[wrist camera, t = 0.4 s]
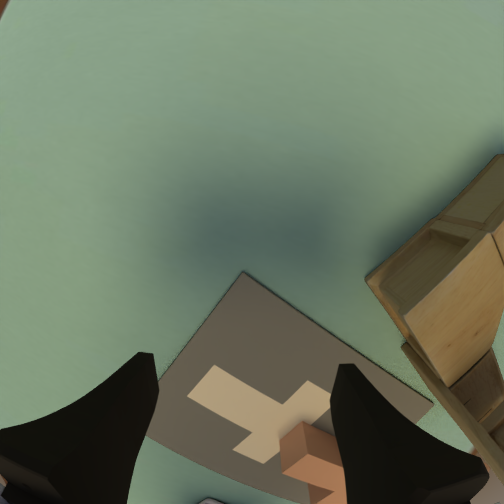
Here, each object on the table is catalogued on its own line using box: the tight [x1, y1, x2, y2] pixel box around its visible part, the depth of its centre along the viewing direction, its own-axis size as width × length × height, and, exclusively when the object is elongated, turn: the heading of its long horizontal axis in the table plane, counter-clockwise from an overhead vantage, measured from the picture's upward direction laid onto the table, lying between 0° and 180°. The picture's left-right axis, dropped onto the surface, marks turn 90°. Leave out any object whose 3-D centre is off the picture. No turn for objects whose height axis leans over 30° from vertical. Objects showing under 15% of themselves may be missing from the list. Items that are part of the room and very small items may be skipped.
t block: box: [279, 421, 347, 504], centre depth 22 cm, size 9×9×4 cm
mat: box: [146, 272, 434, 504], centre depth 24 cm, size 18×22×1 cm
